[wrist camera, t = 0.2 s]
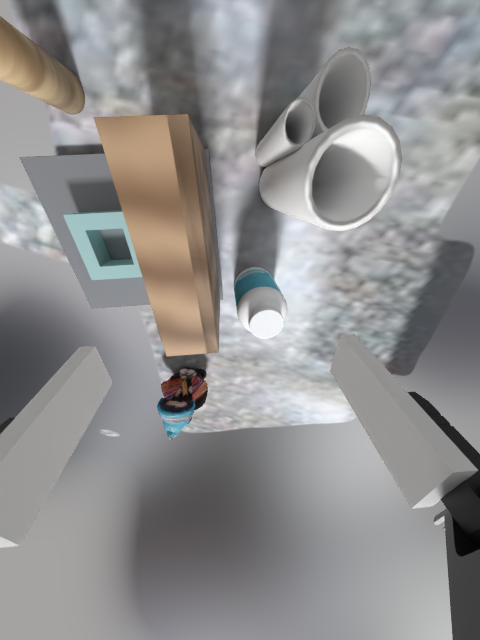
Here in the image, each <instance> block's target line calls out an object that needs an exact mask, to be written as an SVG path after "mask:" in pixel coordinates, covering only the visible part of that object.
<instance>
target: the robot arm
mask: <svg viewBox="0 0 480 640" xmlns="http://www.w3.org/2000/svg"><path fill="white" fill-rule="evenodd" d="M330 371H331V373H332V375H333V376H334V378H335V380H336V382H337V383H338V385H339V387H340V388H341V390H342V392H343V393H344V395H345V397H346V398H347V400H348V402H349V404H350V405H351V407H352V409H353V410H354V412H355V414H356V415H357V417H358V419H359V420H360V422H361V424H362V426H363V427H364V429H365V431H366V432H367V434H368V436H369V437H370V439H371V441H372V442H373V444H374V446H375V448H376V449H377V451H378V453H379V454H380V456H381V458H382V459H383V461H384V463H385V464H386V466H387V468H388V470H389V471H390V473H391V475H392V476H393V478H394V480H395V481H396V483H397V485H398V487H399V488H400V490H401V491H402V493H403V495H404V497H405V498H406V500H407V502H408V504H409V505H410V507H411V508H421V507H432V506H433V505H435V504H436V503H437V502H438V501H440V500H442V502H443V503H444V505H445V506H446V508H447V509H445V510H444V511H443V512H441V513H440V514H439V515H437V516H435V518H434V522H433V523H434V524H436V525H439V524H440V523H442V522H444V521H445V527H444V528H443V529H444V530H445V533H446V546H447V562H448V577H449V590H450V606H451V620H452V634H453V640H480V454H479V453H478V452H477V451H476V450H475V449H474V448H473V447H472V446H471V445H470V444H469V443H468V442H467V440H465V438H464V437H463V436H462V435H461V434H460V433H459V432H458V431H457V430H456V429H455V428H454V427H453V426H450V423H449V422H448V421H447V420H446V419H445V418H444V417H443V416H441V415H440V413H439V412H438V411H437V410H436V409H435V407H433V405H432V404H430V403H429V401H427V400H426V399H424V398H423V397H421V396H420V395H419V394H417V393H416V392H407V391H406V390H405V389H404V388H403V387H402V386H401V385H400V384H399V383H398V381H397V380H396V379H395V378H394V377H393V376H392V375H391V374H390V373H389V371H388V370H387V369H386V368H385V367H384V366H383V365H382V364H381V363H380V362H379V360H378V359H377V358H376V357H375V356H374V355H373V354H372V353H371V352H370V351H369V349H368V348H367V347H366V346H365V345H364V344H363V343H362V342H361V341H360V340H359V338H358V337H357V336H356V335H355V334H347V335H341V337H340V340H339V343H338V347H337V350H336V353H335V356H334V360H333V363H332V366H331V369H330ZM112 383H113V382H112V380H111V378H110V376H109V374H108V372H107V370H106V368H105V366H104V364H103V361H102V359H101V358H100V355H99V353H98V351H97V349H96V347H95V346H90V347H79V348H78V350H77V351H76V352H75V353H74V354H73V355H72V356H71V357H70V358H69V359H68V360H67V362H66V363H65V364H64V365H63V366H62V367H61V368H60V369H59V370H58V372H57V373H56V374H55V375H54V376H53V377H52V378H51V379H50V380H49V381H48V382H47V384H46V385H45V386H44V387H43V388H42V389H41V390H40V391H39V392H38V394H37V395H36V396H35V397H34V398H33V399H32V400H31V401H30V402H29V403H28V404H27V406H26V407H25V408H24V409H23V410H22V411H21V412H20V413H19V414H18V416H16V418H9V419H8V420H7V421H5V422H4V423H3V424H1V425H0V548H2V547H11V546H20V544H21V542H22V541H23V539H24V537H25V535H26V533H27V532H28V530H29V529H30V527H31V525H32V523H33V521H34V520H35V518H36V516H37V515H38V513H39V511H40V509H41V508H42V506H43V504H44V502H45V501H46V499H47V497H48V495H49V494H50V492H51V490H52V488H53V486H54V485H55V483H56V481H57V480H58V478H59V476H60V474H61V472H62V471H63V469H64V467H65V465H66V464H67V462H68V460H69V458H70V457H71V455H72V453H73V451H74V450H75V448H76V446H77V444H78V443H79V441H80V439H81V437H82V436H83V434H84V432H85V430H86V429H87V427H88V425H89V423H90V422H91V420H92V418H93V416H94V415H95V413H96V411H97V409H98V408H99V406H100V404H101V402H102V401H103V399H104V397H105V395H106V394H107V392H108V390H109V388H110V387H111V385H112Z"/></svg>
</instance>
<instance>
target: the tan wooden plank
mask: <svg viewBox="0 0 480 640" xmlns="http://www.w3.org/2000/svg"><path fill="white" fill-rule="evenodd" d="M94 119H95V123H96V126H97V129H98V133H99V136H100V139H101V142H102V146H103V149H104V152H105V156H106V159H107V162H108V165H109V169H110V172H111V175H112V179H113V182H114V185H115V188H116V192H117V195H118V198H119V202H120V205H121V208H122V212H123V215H124V218H125V221H126V225H127V228H128V231H129V235H130V238H131V241H132V244H133V248H134V251H135V254H136V258H137V261H138V264H139V267H140V271H141V274H142V277H143V281H144V284H145V287H146V290H147V294H148V297H149V300H150V304H151V307H152V310H153V313H154V317H155V320H156V323H157V327H158V330H159V333H160V336H161V340H162V343H163V346H164V350H165V353H166V356H179V355H192V354H205V353H218V352H219V318H220V295H219V285H218V276H217V266H216V256H215V247H214V237H213V228H212V218H211V208H210V199H209V189H208V180H207V170H206V160H205V151H204V147H203V145H202V143H201V141H200V139H199V137H198V134H197V132H196V130H195V128H194V126H193V124H192V121H191V119H190V117H189V115H188V114H174V115H147V116H120V117H94Z"/></svg>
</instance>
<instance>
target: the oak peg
mask: <svg viewBox="0 0 480 640" xmlns="http://www.w3.org/2000/svg"><path fill="white" fill-rule="evenodd" d="M0 80H1V81H3V82H5V83H7V84H10V85H12V86H14V87H16V88H18V89H20V90H22V91H24V92H26V93H28V94H30V95H32V96H34V97H36V98H38V99H40V100H42V101H44V102H46V103H48V104H50V105H52V106H54V107H56V108H58V109H60V110H62V111H64V112H66V113H69V114H78V113H80V112H81V111H82V110H83V108H84V104H85V95H84V91H83V88H82V86H81V83H80V82H79V80H78V79H77V77H76V76H75V75H74V74H73V73H72V72H71V71H70V70H69V69H67V68H66V67H65V66H63V65H62V64H61V63H60V62H58V61H57V60H56V59H54V58H53V57H52V56H51V55H49V54H48V53H47V52H46V51H44V50H43V49H42V48H40V47H39V46H38V45H37V44H35V43H34V42H33V41H31V40H30V39H29V38H28V37H26V36H25V35H24V34H22V33H21V32H20V31H19V30H17V29H16V28H15V27H13V26H12V25H11V24H10V23H8V22H7V21H6V20H4V19H3V18H2V17H1V16H0Z"/></svg>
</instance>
